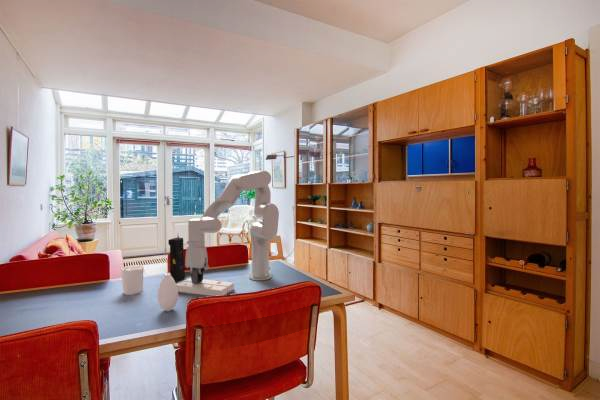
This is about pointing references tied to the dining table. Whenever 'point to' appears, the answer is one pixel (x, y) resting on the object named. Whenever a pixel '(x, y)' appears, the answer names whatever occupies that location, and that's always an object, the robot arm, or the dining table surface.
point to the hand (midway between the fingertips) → (197, 280)
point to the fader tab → (195, 276)
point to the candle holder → (132, 279)
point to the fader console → (205, 288)
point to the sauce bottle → (167, 293)
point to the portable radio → (176, 258)
